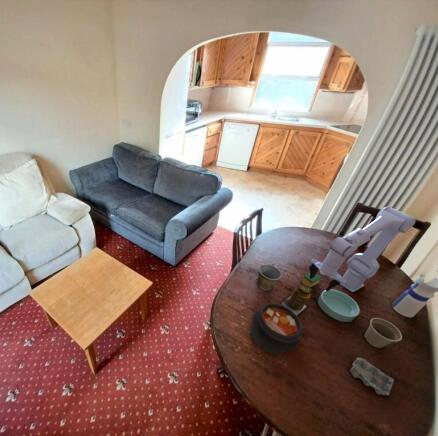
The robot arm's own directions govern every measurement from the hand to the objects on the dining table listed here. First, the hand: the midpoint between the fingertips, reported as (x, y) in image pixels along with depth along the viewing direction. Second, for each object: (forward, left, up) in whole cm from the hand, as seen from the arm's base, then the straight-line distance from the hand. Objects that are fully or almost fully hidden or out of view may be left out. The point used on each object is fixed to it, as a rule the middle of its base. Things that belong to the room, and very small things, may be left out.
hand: (319, 283), depth 107 cm
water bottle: (-32, +22, -10) cm, 40 cm away
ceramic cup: (+13, -15, -10) cm, 23 cm away
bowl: (-5, +9, -10) cm, 14 cm away
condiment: (+11, 0, -10) cm, 15 cm away
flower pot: (-4, +25, -10) cm, 27 cm away
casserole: (+29, +5, -10) cm, 31 cm away
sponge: (-8, -6, -10) cm, 14 cm away
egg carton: (+13, +32, -10) cm, 36 cm away
